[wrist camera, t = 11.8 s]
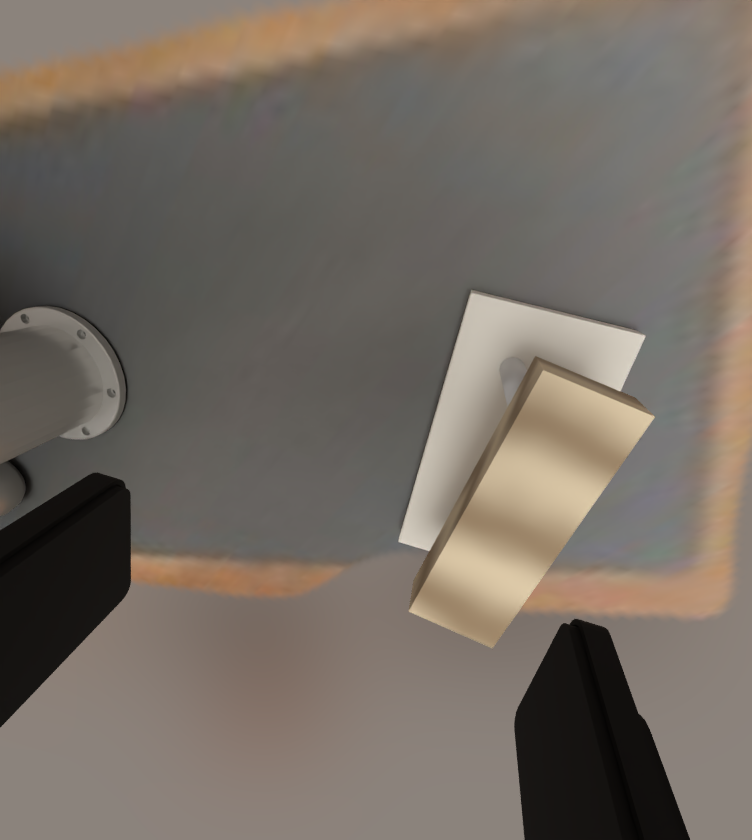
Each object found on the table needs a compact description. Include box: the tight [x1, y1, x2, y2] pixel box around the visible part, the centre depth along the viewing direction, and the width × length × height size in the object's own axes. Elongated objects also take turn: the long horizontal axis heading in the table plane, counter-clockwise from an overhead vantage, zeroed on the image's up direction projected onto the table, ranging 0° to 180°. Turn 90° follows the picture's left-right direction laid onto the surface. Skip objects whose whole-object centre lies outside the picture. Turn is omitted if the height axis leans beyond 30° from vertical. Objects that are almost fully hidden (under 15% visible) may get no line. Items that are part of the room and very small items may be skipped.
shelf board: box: [409, 356, 655, 648], centre depth 28 cm, size 18×6×3 cm, turn 159°
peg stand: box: [398, 290, 646, 551], centre depth 33 cm, size 12×22×9 cm, turn 168°
